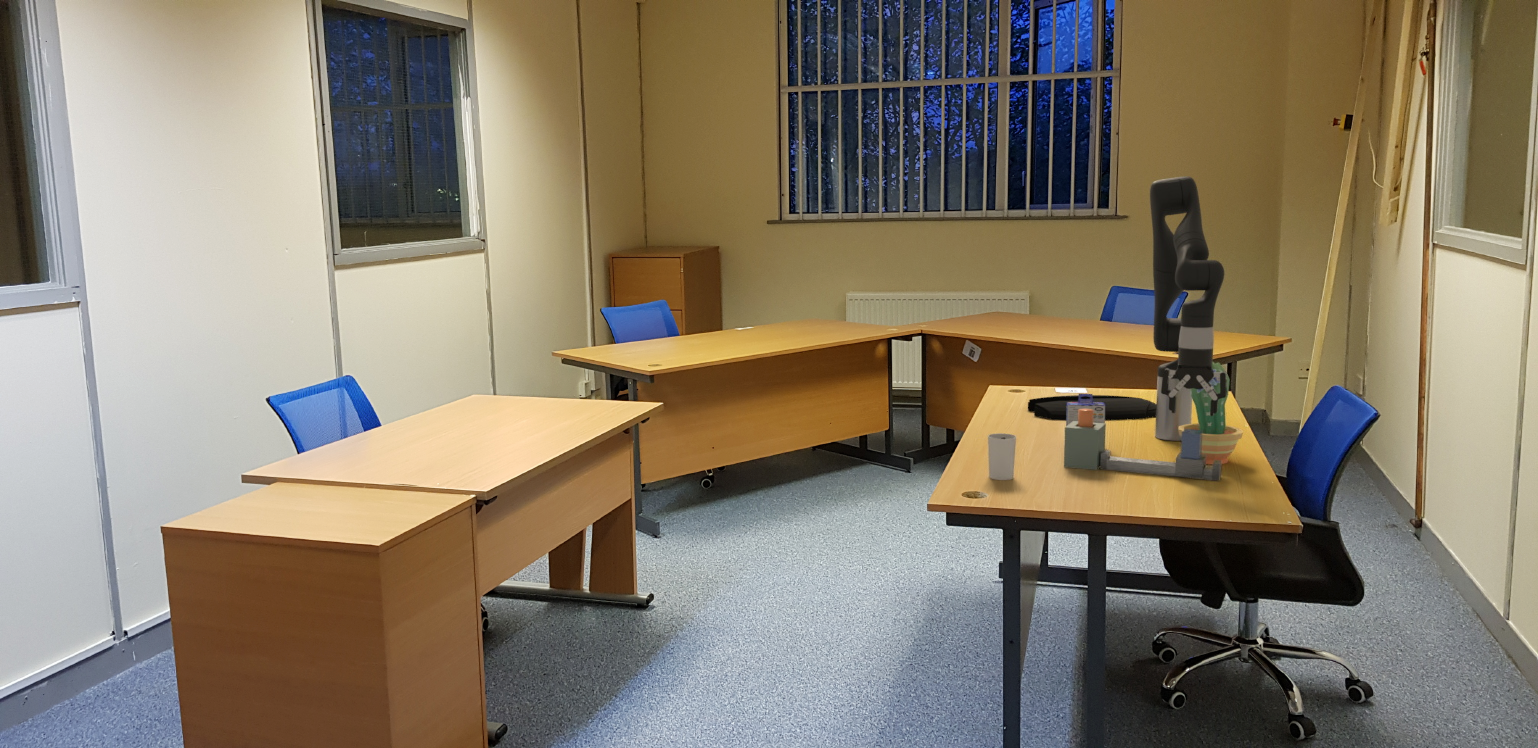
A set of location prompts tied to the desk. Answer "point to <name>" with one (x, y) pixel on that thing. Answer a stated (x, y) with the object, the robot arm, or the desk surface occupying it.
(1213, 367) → the potted cactus
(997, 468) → the cream cup
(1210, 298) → the robot arm
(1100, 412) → the ink cartridge box
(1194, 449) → the carriage
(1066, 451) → the grey-green socket block
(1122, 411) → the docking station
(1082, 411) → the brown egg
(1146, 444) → the desk surface
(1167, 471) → the rail
